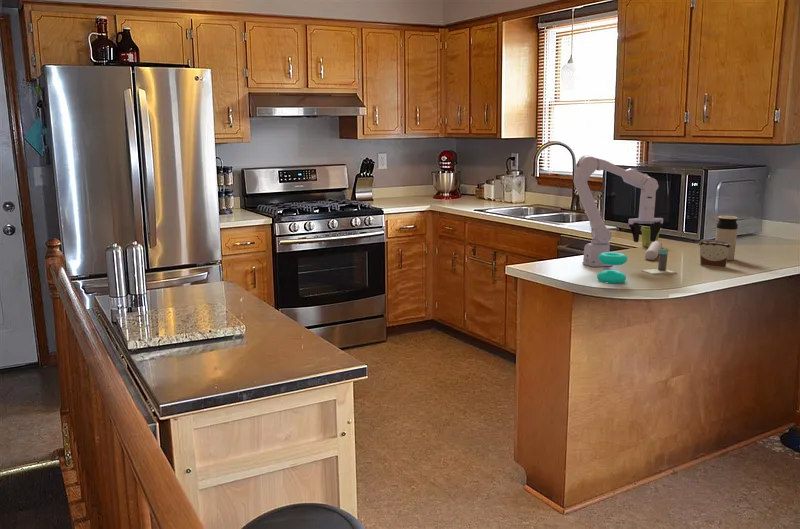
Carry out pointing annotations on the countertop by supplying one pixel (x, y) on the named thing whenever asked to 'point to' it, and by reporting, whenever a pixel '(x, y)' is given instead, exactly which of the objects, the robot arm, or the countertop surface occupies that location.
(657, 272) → the notepad
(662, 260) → the marker
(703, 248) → the food container
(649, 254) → the tube
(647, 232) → the plant pot
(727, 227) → the travel mug
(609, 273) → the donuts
